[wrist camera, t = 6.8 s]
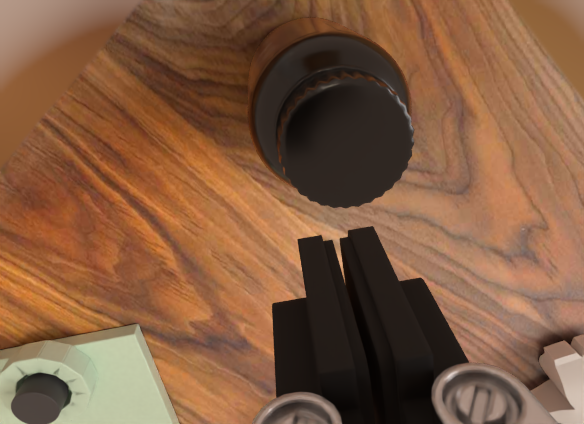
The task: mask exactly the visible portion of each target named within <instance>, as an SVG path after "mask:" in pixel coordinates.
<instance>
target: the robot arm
mask: <svg viewBox="0 0 584 424" xmlns="http://www.w3.org/2000/svg"><path fill="white" fill-rule="evenodd" d="M297 240H298V246H299V253H300V259H301V265H302V272H303V278H304V285H305V291H306V298H300V299H295V300H289V301H283V302H277V303H273V304H272V315H273V336H274V356H275V377H276V398H275V399H273V400H272V401H270V402H269V403H268V404H266V405H265V406H264V407H263V408H262V409H261V410H260V411H259V413H258V414H257V415H256V417H255V418H254V420H253V422H252V424H561V423H558V422H557V421H556V420H555V419H554V418H553V417H552V415H551V414H550V413H549V412H548V411H547V410H546V409H545V407H544V406H543V405H542V404H541V403H540V402H539V401H538V400H537V398H536V397H535V396H534V395H533V394H532V393H531V392H530V390H529V389H528V388H527V387H526V386H525V385H524V384H523V383H522V382H521V381H520V380H519V379H517V378H516V377H515V376H514V375H513V374H511V373H509V372H507V371H505V370H503V369H501V368H499V367H496V366H492V365H489V364H485V363H469V361H468V359H467V357H466V356H465V354H464V352H463V350H462V348H461V347H460V345H459V343H458V341H457V339H456V338H455V336H454V334H453V332H452V330H451V328H450V327H449V325H448V323H447V321H446V319H445V318H444V316H443V314H442V312H441V310H440V308H439V307H438V305H437V303H436V301H435V299H434V298H433V296H432V294H431V292H430V290H429V289H428V287H427V285H426V283H425V282H424V280H423V279H422V278H416V279H410V280H404V281H399V280H398V278H397V276H396V274H395V272H394V270H393V268H392V265H391V263H390V261H389V259H388V257H387V255H386V253H385V250H384V248H383V246H382V244H381V242H380V240H379V238H378V235H377V233H376V231H375V229H374V227H373V226H371V227H365V228H359V229H354V230H348V237H345V238H340V247H341V255H342V262H343V269H344V277H345V282H344V278H343V275H342V272H341V268H340V265H339V261H338V258H337V254H336V251H335V247H334V244H333V241H332V240H328V241H323V239H322V235H319V236H314V237H308V238H302V239H297ZM345 284H346V285H345Z"/></svg>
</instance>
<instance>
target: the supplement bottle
mask: <svg viewBox="0 0 584 424" xmlns="http://www.w3.org/2000/svg"><path fill="white" fill-rule="evenodd" d="M248 123H249V130H250V134H251V139H252V142H253V145H254V147H255V149H256V152H257V154H258V155H259V157H260V159H261V160H262V162H263V163H264V164H265V166H266V167H267V168H268V169H269V170H270V171H271V172H272V173H273V174H274V175H275V176H276V177H277V178H279V179H280V180H281V181H283V182H284V183H286V184H288V185H290V186H292V187H294V188H296V189H297V190H298V192H299V193H300V194H301V195H304V196H307V198H308V199H309V200H310V201H314V202H318V203H319V204H320V205H324V206H325V205H329V206H330V207H332V208H337V207H343V208H349V207H351V206H357V207H359V206H360V205H362V204H364V203H370V202H372V201H373V200H374V199H375V198H378V197H381V196H382V195H383V194H384V193H385V191H387V190H389V189H391V188H392V187H393V185H394V183H395V182H396V181H398V180H399V179H400V178H401V176H402V172H403V171H404V170H405V169H406V168H407V166H408V161H409V159H410V158H411V156H412V150H411V149H412V147H413V145H414V140H413V133H414V128H413V127H412V125H411V97H410V92H409V88H408V84H407V81H406V79H405V76H404V74H403V72H402V71H401V69H400V67H399V66H398V64H397V63H396V61H395V60H394V59H393V58H392V57H391V56H390V55H389V54H388V53H387V52H386V51H385V50H384V49H383V48H382V47H380V46H379V45H378V44H376V43H375V42H373V41H372V40H370V39H368V38H366V37H364V36H362V35H360V34H358V33H356V32H354V31H352V30H350V29H348V28H346V27H344V26H342V25H340V24H338V23H336V22H333V21H330V20H327V19H323V18H316V17H307V18H300V19H295V20H292V21H289V22H287V23H284V24H283V25H281V26H279V27H277V28H276V29H275V30H273V31H272V32H271V33H270V34H269V35H268V36H267V37H266V38H265V39H264V40H263V41H262V43H261V44H260V45H259V47H258V49H257V50H256V52H255V54H254V56H253V59H252V62H251V65H250V70H249V77H248Z"/></svg>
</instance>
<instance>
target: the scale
mask: <svg viewBox="0 0 584 424" xmlns="http://www.w3.org/2000/svg"><path fill="white" fill-rule="evenodd" d="M36 373H46V374H51V375H55V376H57V377H58V378H60V379H61V380H63V381H64V382H65V383H66V385H67V387H68V392H69V393H68V397H67V399H66V401H65V403H64V405H63V408H62V410H61V412H60V414H59V416H58V418H57V419H56V420H55V421H54V422H52V423H50V424H180V423H179V420H178V418H177V416H176V413H175V411H174V408H173V406H172V404H171V401H170V399H169V396H168V394H167V392H166V389H165V387H164V384H163V382H162V380H161V377H160V375H159V372H158V370H157V368H156V365H155V363H154V360H153V358H152V356H151V353H150V351H149V348H148V346H147V344H146V341H145V339H144V337H143V334H142V332H141V329H140V327H139V325H138V324H134V325H129V326H123V327H118V328H113V329H108V330H102V331H97V332H92V333H87V334H82V335H76V336H71V337H66V338H61V339H55V340H48V341H47V340H44V341H39V342H34V343H29V344H25V345H23V346H19V347H14V348H8V349H3V350H0V424H26V423H24V422H22V421H20V420H19V419H17V418H16V417H15V416H14V414H13V413H12V410H11V402H12V400H13V398H14V397H15V395H16V393H17V391H18V390H19V388H20V386H21V385H22V383H23V381H24V380H25V379H26V378H27V377H28V376H30V375H32V374H36Z"/></svg>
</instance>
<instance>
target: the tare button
mask: <svg viewBox="0 0 584 424" xmlns="http://www.w3.org/2000/svg"><path fill="white" fill-rule="evenodd" d="M68 393H69V392H68V387H67V385H66V383H65V382H64V381H63V380H61V379H60V378H58V377H57V376H55V375H51V374H46V373H36V374H32V375H30V376H28V377H27V378H26V379H25V380H24V381H23V383H22V385H21V386H20V388H19V390H18V391H17V393H16V395H15V397H14V398H13V400H12V402H11V410H12V413H13V414H14V416H15V417H16V418H17V419H19V420H20V421H22V422H24V423H26V424H50V423H52V422H54V421H55V420H56V419H57V418H58V416H59V414H60V412H61V410H62V408H63V405H64V403H65V401H66V399H67V397H68Z"/></svg>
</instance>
